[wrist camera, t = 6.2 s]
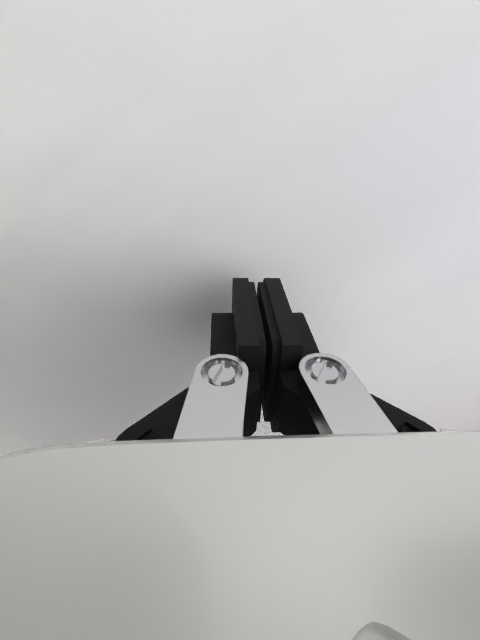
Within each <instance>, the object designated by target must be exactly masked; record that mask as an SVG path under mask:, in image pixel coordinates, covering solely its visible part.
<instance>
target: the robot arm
mask: <svg viewBox="0 0 480 640" xmlns="http://www.w3.org/2000/svg"><path fill="white" fill-rule="evenodd" d="M261 404H262V409H263V416H264V421H265V422H270V423H271V429H272V432H281V433H282V434H284V435H282V436H251V435H252V434H253V433H254V432H255V431H256V427H257V422H260V415H261ZM0 640H480V431H453V430H447V429H440V431H439V432H437V431H436V430H435V429H434V428H433V427H431V426H430V425H428V424H427V423H425V422H423V421H422V420H420V419H418V418H416V417H414V416H412V415H410V414H408V413H406V412H404V411H402V410H401V409H399V408H397V407H395V406H393V405H391V404H389V403H387V402H385V401H383V400H381V399H380V398H378V397H376V396H374V395H372V394H370V393H369V392H368V391H367V389H366V388H365V387H364V385H363V384H362V383H361V381H360V380H359V379H358V377H357V376H356V375H355V373H354V372H353V370H352V369H351V368H350V366H349V365H348V364H347V363H346V362H345V361H343V360H341V359H340V358H338V357H336V356H333V355H330V354H325V353H319V350H318V348H317V345H316V343H315V341H314V338H313V336H312V333H311V331H310V329H309V326H308V324H307V321H306V319H305V317H304V315H303V313H292V311H291V308H290V305H289V303H288V300H287V297H286V295H285V292H284V289H283V286H282V284H281V281H280V279H279V278H264V280H263V282H258V287H257V295H256V290H255V285H254V282H249V281H248V278H233V288H232V313H212V323H211V349H210V356H209V357H207V358H205V359H203V360H202V361H201V362H199V363H198V365H197V367H196V368H195V371H194V374H193V378H192V381H191V384H190V386H189V387H188V388H186V389H185V390H184V391H182V392H181V393H179V394H178V395H176V396H175V397H173V398H172V399H170V400H169V401H167V402H166V403H164V404H163V405H161V406H160V407H158V408H157V409H155V410H154V411H153V412H151V413H150V414H148V415H147V416H145V417H144V418H142V419H141V420H139V421H138V422H136V423H135V424H133V425H132V426H130V427H129V428H127V429H126V430H125V431H124V432H123V433H121V434H120V435H119V436H118V437H117V439H116V440H113V441H108V442H106V438H101V439H96V440H92V441H87V442H82V443H78V444H66V445H55V446H48V447H42V448H35V449H29V450H24V451H20V452H15V453H11V454H7V455H2V456H0Z"/></svg>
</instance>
